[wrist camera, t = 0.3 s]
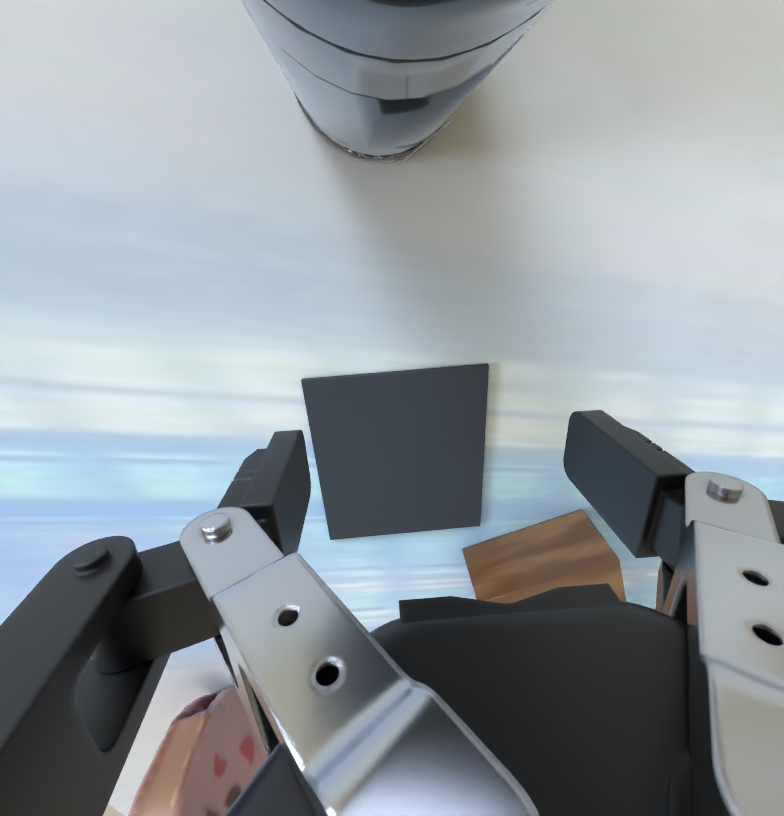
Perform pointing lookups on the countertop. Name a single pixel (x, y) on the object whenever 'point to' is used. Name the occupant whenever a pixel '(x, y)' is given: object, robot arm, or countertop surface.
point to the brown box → (543, 560)
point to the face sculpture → (201, 760)
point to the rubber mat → (399, 449)
